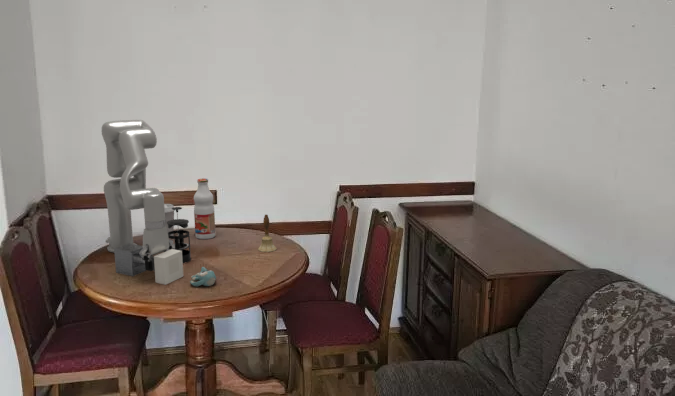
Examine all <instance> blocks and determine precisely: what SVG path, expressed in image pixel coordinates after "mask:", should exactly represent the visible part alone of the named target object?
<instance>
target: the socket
mask: <svg viewBox="0 0 675 396" xmlns="http://www.w3.org/2000/svg"><path fill="white" fill-rule="evenodd" d="M153 256H154V266H155V271H154V277H155V280H154V281H155V283H157V284H160V285H165V286H166V285H168V284H170V283H172V282H175V281H176V280H179V279H181V278H182V277H184V265H183V264H184V263H183V260H182V251H180V250H175V249H171V250H168V251H166V252H161V253H158V254H156V256H155V255H153Z"/></svg>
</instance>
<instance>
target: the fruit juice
mask: <svg viewBox="0 0 675 396" xmlns="http://www.w3.org/2000/svg"><path fill="white" fill-rule="evenodd" d="M196 181H197V190H196V192H195V193H194V195H193V201H194V206H193V215H194V219H193V220H194V235H195V238H196V239H198V240H211V239H213V238H215V237H216V221H215V219H216V218H215V206H214V204H213V203H214V194H213V193H212V192H211V191H210V188H209V185H208V183H209V179H208V178H204V177H203V178H198V179H197V180H196Z"/></svg>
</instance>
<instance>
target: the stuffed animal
mask: <svg viewBox="0 0 675 396" xmlns="http://www.w3.org/2000/svg"><path fill="white" fill-rule="evenodd" d="M200 269H201V270H200V271H199V272H197V273H195V274H193V275H191V276H190V278H191V280H189V283H190V284H191V285H192V286H193V287H196V288H197V287H200V286H204V287H210V286H213V285H214V284H215V282H216V280H217V276H216V274H215V272H214V270H210V269H207V268H206V267H205V266H202V267H201V268H200Z"/></svg>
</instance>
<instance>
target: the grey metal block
mask: <svg viewBox="0 0 675 396" xmlns="http://www.w3.org/2000/svg"><path fill="white" fill-rule="evenodd" d="M135 244H136V243H135ZM135 244H130V243H129V244H126V245H123V246H121V247H118V248H115V249H114V262H115V264H114V265H115V273H116V274H118V275H119V274H121V275H125V276H128V277H129V276H130V277H135V276H137V275H140V274H142V273H145V272H147V270H146V269H145V265H141V264H136V263H134V257H133V254H135V253H138V254H139V252H140V251H141V250H142V249H143V245H139V244H137V245H135Z"/></svg>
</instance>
